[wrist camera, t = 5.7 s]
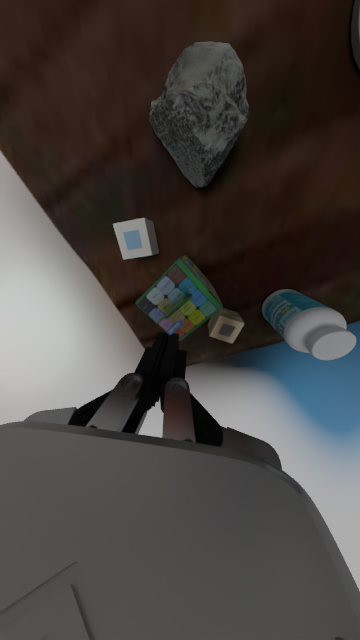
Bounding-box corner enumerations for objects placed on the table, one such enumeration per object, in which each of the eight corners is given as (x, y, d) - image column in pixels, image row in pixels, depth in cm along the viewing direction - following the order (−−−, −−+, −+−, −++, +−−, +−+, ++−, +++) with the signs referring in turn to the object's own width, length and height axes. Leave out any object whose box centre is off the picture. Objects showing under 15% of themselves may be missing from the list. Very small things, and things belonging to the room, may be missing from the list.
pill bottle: (265, 287, 29) (314, 319, 17) (305, 287, 28) (387, 320, 16) (256, 320, 32) (292, 366, 20) (292, 321, 31) (351, 369, 19)
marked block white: (153, 222, 25) (143, 217, 21) (159, 253, 28) (151, 255, 23) (126, 227, 26) (112, 223, 21) (134, 257, 28) (122, 259, 24)
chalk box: (183, 313, 33) (175, 359, 20) (153, 284, 30) (122, 315, 17) (215, 287, 29) (232, 321, 16) (185, 251, 27) (175, 258, 14)
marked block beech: (237, 312, 32) (244, 324, 27) (227, 330, 34) (232, 344, 29) (216, 305, 31) (220, 316, 27) (207, 324, 34) (209, 336, 29)
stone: (150, 129, 13) (267, 28, 10) (132, 76, 16) (222, -15, 13) (184, 215, 22) (253, 175, 19) (169, 172, 25) (228, 131, 22)
